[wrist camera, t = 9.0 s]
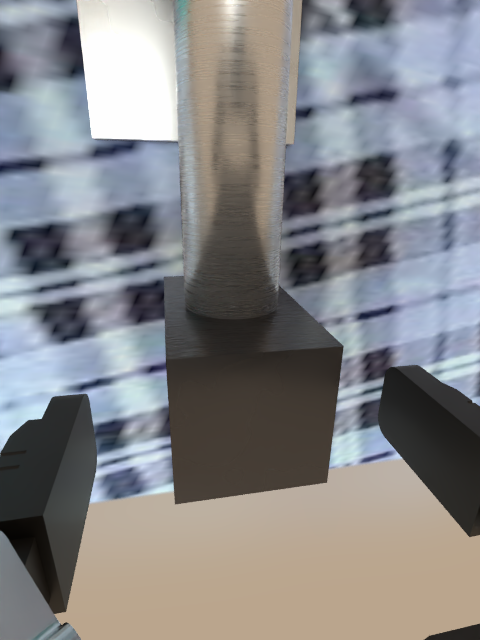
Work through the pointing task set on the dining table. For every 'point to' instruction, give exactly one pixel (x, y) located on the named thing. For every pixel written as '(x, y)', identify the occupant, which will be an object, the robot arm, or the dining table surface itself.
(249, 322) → the shaft
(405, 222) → the dining table surface
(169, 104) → the pillow blocks
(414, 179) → the dining table surface
